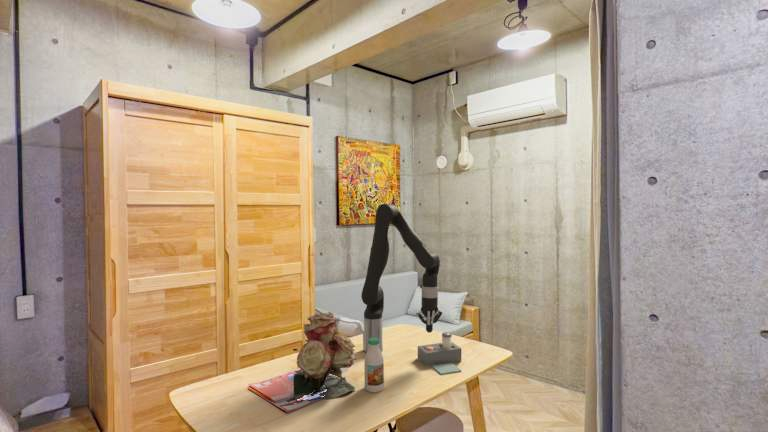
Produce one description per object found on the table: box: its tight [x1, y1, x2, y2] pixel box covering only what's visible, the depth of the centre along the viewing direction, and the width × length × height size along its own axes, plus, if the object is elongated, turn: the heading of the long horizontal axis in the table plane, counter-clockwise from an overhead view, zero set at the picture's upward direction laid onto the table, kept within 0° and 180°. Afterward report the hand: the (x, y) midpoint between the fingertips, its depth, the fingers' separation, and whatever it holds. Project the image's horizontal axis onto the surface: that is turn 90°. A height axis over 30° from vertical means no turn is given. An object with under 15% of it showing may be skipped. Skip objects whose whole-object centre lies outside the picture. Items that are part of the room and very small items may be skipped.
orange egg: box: [425, 346, 434, 351], centre depth 188 cm, size 4×4×6 cm
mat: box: [431, 362, 462, 376], centre depth 179 cm, size 10×9×1 cm
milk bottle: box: [364, 338, 385, 393], centre depth 160 cm, size 8×8×20 cm
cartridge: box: [441, 331, 453, 349], centre depth 191 cm, size 5×5×12 cm
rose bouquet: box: [292, 311, 357, 400], centre depth 163 cm, size 26×29×30 cm
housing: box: [417, 342, 462, 367], centre depth 190 cm, size 18×10×6 cm, turn 109°
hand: (429, 332), depth 188 cm, fingers closed
